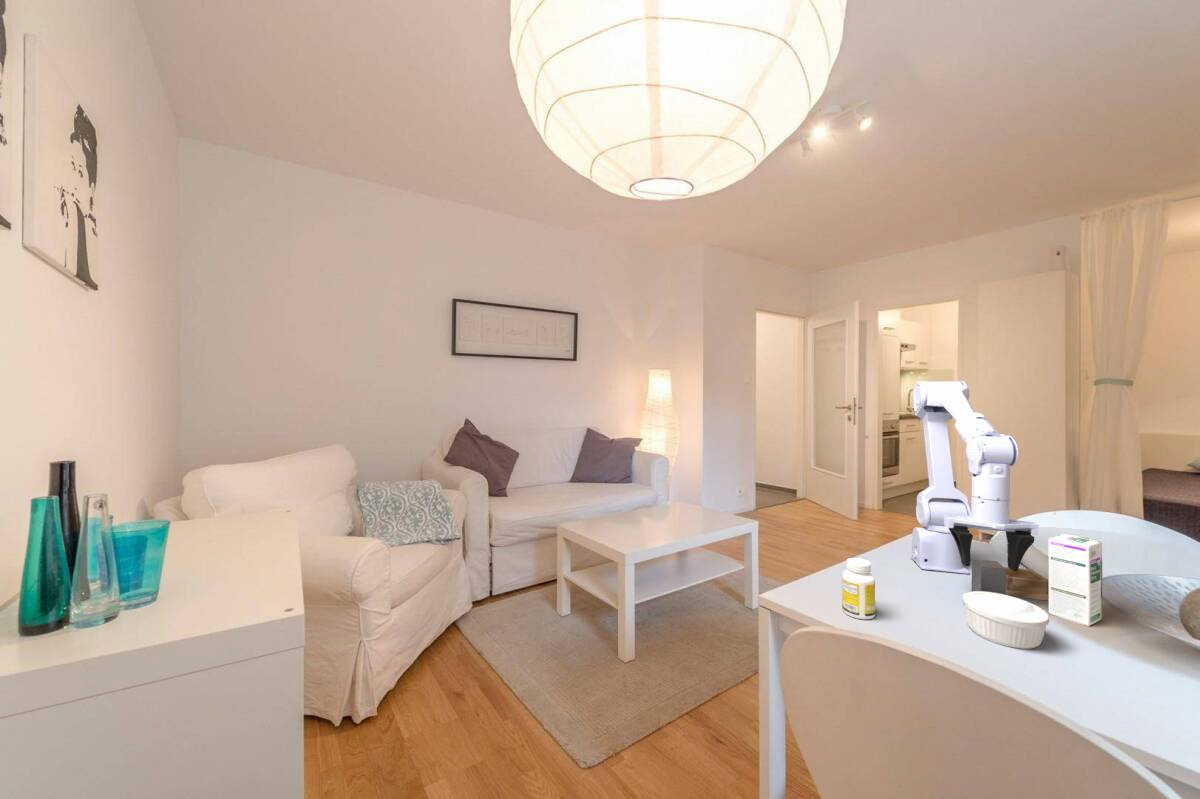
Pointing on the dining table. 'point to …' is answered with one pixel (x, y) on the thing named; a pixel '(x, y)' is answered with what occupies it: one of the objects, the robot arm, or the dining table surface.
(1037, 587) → the oak dock
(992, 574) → the matte charcoal brick
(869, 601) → the supplement bottle
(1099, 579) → the syrup box
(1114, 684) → the dining table surface
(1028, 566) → the tube
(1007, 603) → the ramekin
